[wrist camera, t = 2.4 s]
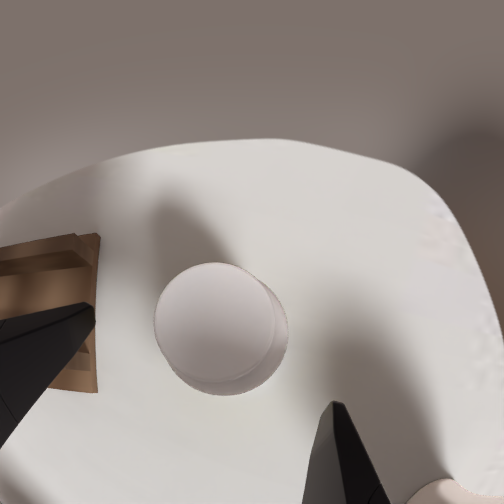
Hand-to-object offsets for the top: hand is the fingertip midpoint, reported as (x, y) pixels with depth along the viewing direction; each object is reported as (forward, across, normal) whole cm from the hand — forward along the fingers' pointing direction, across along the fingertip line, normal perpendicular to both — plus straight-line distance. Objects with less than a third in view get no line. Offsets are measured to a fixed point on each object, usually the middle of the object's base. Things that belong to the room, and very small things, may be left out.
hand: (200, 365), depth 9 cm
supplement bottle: (+8, 0, +6) cm, 9 cm away
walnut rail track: (+4, +18, +9) cm, 21 cm away
